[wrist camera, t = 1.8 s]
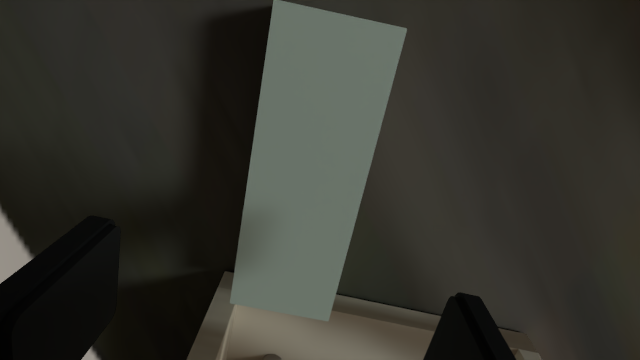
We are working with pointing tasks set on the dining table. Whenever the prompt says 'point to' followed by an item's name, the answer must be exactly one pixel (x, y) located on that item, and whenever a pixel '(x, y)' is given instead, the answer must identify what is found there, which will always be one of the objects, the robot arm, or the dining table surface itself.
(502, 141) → the dining table surface
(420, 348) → the shelf frame
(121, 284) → the dining table surface
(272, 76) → the grey-green rectangular block
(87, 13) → the dining table surface
